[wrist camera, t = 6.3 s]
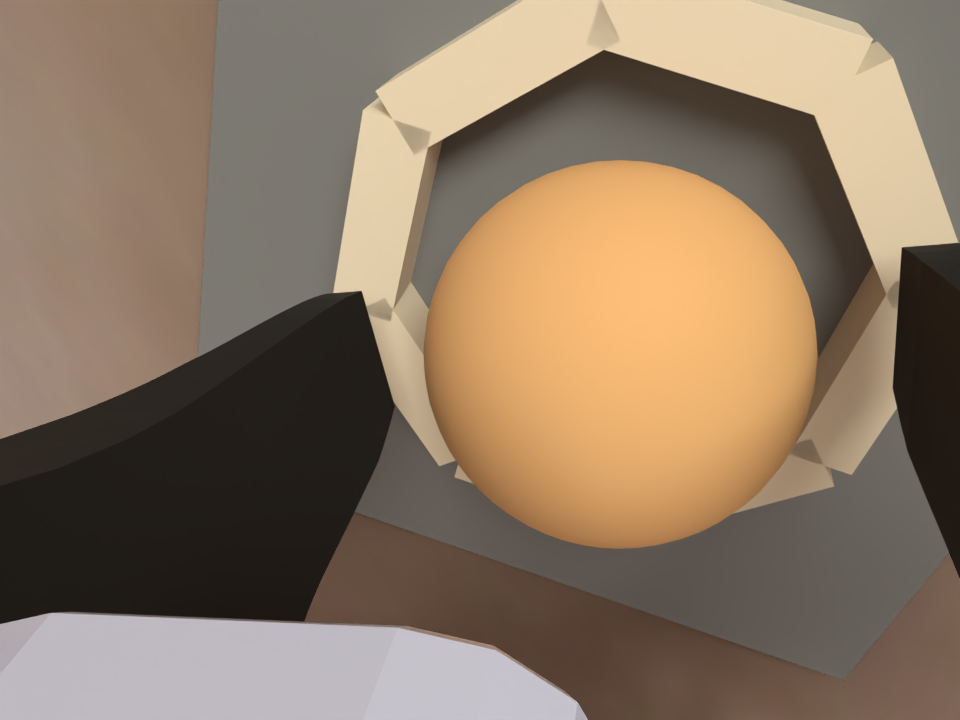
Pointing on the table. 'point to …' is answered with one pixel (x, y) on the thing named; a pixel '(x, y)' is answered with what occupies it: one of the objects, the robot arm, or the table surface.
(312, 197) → the cradle
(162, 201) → the table surface
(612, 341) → the ball
